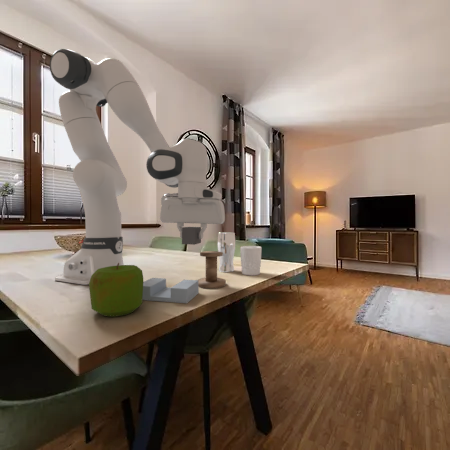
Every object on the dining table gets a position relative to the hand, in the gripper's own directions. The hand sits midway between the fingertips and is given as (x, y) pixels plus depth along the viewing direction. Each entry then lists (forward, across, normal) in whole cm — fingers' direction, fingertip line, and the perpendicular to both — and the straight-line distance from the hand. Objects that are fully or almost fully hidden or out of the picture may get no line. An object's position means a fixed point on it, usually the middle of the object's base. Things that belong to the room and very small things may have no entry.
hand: (191, 238), depth 81 cm
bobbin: (+14, +6, +2) cm, 16 cm away
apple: (+15, -8, -26) cm, 31 cm away
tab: (+2, 0, 0) cm, 2 cm away
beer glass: (+14, +6, +24) cm, 28 cm away
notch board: (+15, -2, -12) cm, 19 cm away
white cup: (+14, +16, +21) cm, 30 cm away
